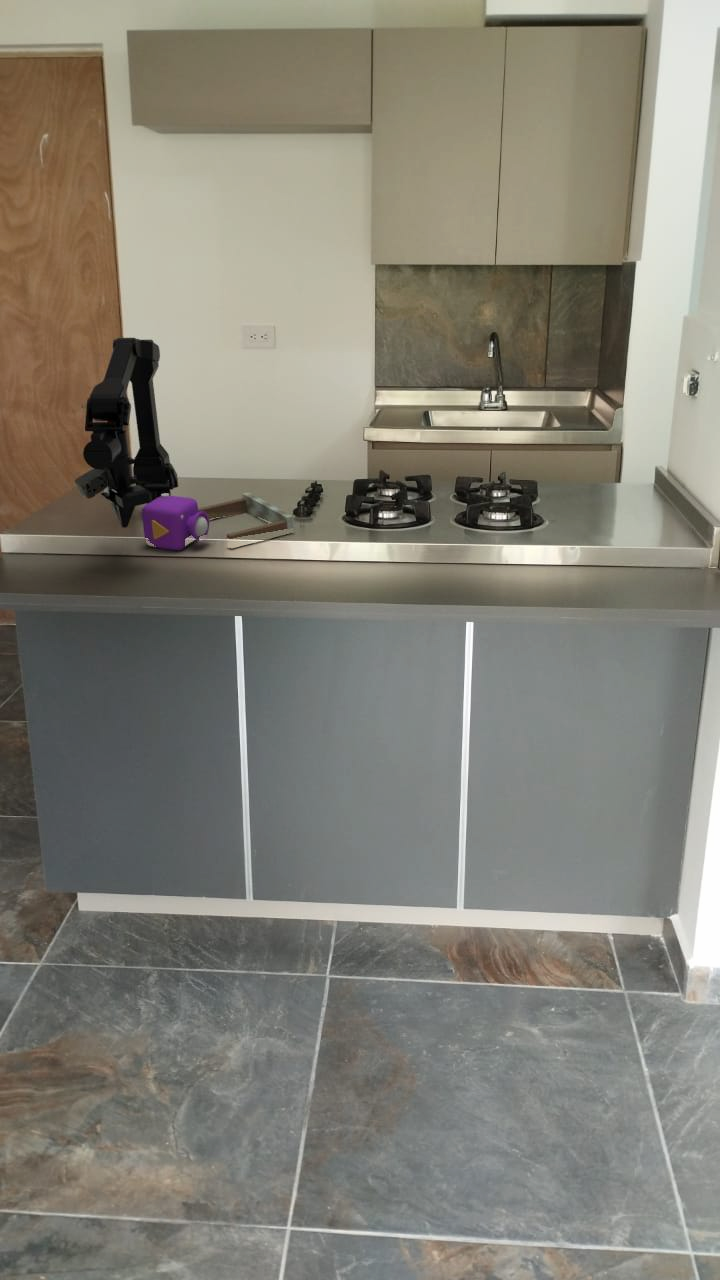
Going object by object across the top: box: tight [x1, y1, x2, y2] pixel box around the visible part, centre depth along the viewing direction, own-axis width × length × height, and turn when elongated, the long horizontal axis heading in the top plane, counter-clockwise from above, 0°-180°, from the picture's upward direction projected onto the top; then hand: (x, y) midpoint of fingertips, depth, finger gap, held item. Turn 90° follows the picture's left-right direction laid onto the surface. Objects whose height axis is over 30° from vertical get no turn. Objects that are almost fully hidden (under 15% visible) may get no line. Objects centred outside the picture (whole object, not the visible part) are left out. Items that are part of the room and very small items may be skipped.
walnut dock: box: [198, 492, 294, 539], centre depth 239 cm, size 20×16×4 cm
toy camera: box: [141, 493, 210, 551], centre depth 231 cm, size 11×14×10 cm
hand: (124, 526), depth 224 cm, fingers closed
